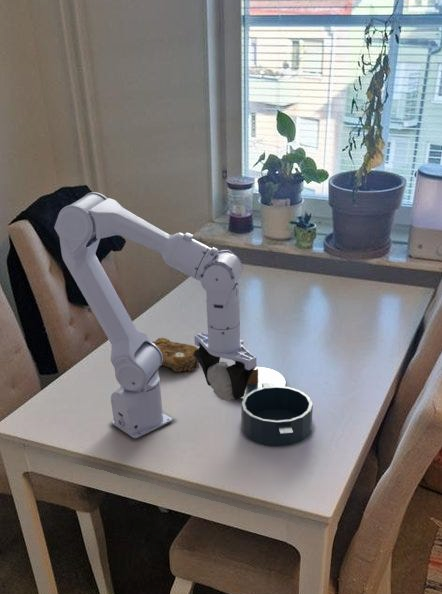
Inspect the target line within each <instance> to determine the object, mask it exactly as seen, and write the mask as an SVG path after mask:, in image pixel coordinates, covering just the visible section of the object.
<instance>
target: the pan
mask: <svg viewBox="0 0 442 594" xmlns="http://www.w3.org/2000/svg"><path fill="white" fill-rule="evenodd" d="M240 405H241V407H240V409H241V410H240V411H241V412H240V413H241V414H240V415H241V428H242V432H243V434H244V436H245V437H246V438H247V439H249V440H250V441H251V442H253V443H256V444H258V445H261V446H266V447H272V448H273V447H276V448H278V447H281V448H282V447H288V446H289V447H290V446H293V445H296V444H299V443H301V442H303V441H305V440H306V439H307V438H308V437H309V435H310V434H311V432H312V431H311V430H312V426H313V409H314V408H313V407H314V403H313V402H312V399H311V396H309V395H308V394H306V393H305V392H303V391H302V390H300V389H297V388H294V387H292V386H291V387H290V386H285V387H283V386H275V385H274V383H263V384H262V388H259V389H256V390H253V391H251V392H250V393H248V394H247V395H246V396H244V399H243V400H241V403H240Z"/></svg>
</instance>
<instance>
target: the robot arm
mask: <svg viewBox="0 0 442 594" xmlns="http://www.w3.org/2000/svg"><path fill="white" fill-rule="evenodd" d="M53 228H54V230H55V232H56V234H57V236H58V238H59V245H60V252H61V253H60V254H61V257H62V261H63V262H64V264H65V266H66V267H67V269H68V271H69V273H70V275H71V276H72V278H73V280H74V281H75V283H76V285H77V287H78V289H79V291H80V292H81V294H82V296H83V297H84V298H85V301H86V303H87V304H88V307H89V308H90V309H91V312H92V313H93V315H94V316H95V318H96V320H97V322H98V324H99V326H100V328H101V329H102V331H103V333H104V334H105V336H106V338H107V339H108V341H109V343H110V344H111V351H110V363H111V364H112V365H113V369H114V375H115V380H116V381H117V383H118V384H119V385H120V386H119V388H118V389H117V390H115V391H113V392H112V393H111V396H110V404H111V411H112V418H113V420H112V421H111V424H112V425H113V426H115V427H116V428H117V429H119V430H120V431H122V432H124V433H125V434H127V435H128V436H130V437H131V438H132V439H138V438H141V437H142V436H144V435H146V434H148V433H151V432H152V431H155V430H158V429H159V428H161V427H163V426H165V425H167V424H169V423H171V422H172V421H173V418H172V417H171V416H169V415H167V414H166V413H164V412H163V401H162V400H163V399H162V390H161V378H160V375H159V368H160V367H161V366H162V365H161V364H162V362H163V356H162V352H161V351H160V349H159V348H158V347H157V346H156V345H155V344H153V343H152V342H153V341H152V340H151V339H150V337H149V336H148V334H147V333H145V332H143V331H139V330H138V329H137V328H136V326H135V324H134V321H133V320H132V318H131V316H130V315H129V313H128V311H127V310H126V307H125V305H124V304H123V302H122V300H121V299H120V297H119V295H118V292H117V291H116V289H115V288H114V285H113V283H112V282H111V280H110V278H109V277H108V275H107V273H106V271H105V269H104V267H103V266H102V263H101V262H100V260H99V258H98V256H97V255H96V253H97V250H98V247H99V244H100V241H101V239H105V238H109V237H114V236H120V237H122V238H124V239H127V240H129V241H132V242H133V243H136V244H138V245H141V246H143V247H145V248H148V249H150V250H152V251H154V252H157V253H159V254H160V255H161V257H162V260H163V262H164V264H166V265H167V266H170V267H171V268H173V269H175V270H176V271H179V272H180V273H182V274H185V275H187V276H189V277H191V278H192V279H194V280H196V281H198V282H200V284H201V286H202V288H203V290H204V291H205V292H206V299H205V301H206V302H205V303H206V321H207V322H206V323H207V333H205V332H200V333H197V334H195V335H193V336H194V339H193V340H194V346H196V347H198V350H196V351H194V356H195V357H196V358H197V360H198V363H199V364H200V368H201V369H202V372H203V375H204V378H205V381H206V384H207V385H208V386H209V387H211V384H210V383H209V381H208V378H207V371H208V368H209V367H211V366H213V365H215V364H217V363H219V362H221V359H225V360H231V361H233V362H234V363H233V364H231V365H230V366H229V367H227V368H226V370H227V372H228V374H229V376H230V380H231V384H232V394H233V399H234V400H235V401H237V400H239V398H241V397H243V396H244V394H245V390H246V386H247V383H248V380H249V378H250V376H251V374H252V372H253V371H254V369H255V368H256V366H257V356H255V355H253V354H252V353H251V352H250V351H249V350H248V349H247V348H246V347H245V346H244V340H243V339H242V338H241V310H240V308H241V307H240V304H241V303H240V289H239V287H240V284H239V282H238V281H239V280H240V278H241V276H242V274H243V263H242V261H241V259H240V257H239V256H238V255H237V254H235V253H233V251H231V250H230V249H220V250H219V249H218V248H216V247H214V246H213V247H210V246H208V245H206V244H205V243H202V242H200V241H198V240H196V239H195V238H194V234H191V233H189V232H185V233H182V232H176V233H174V234H169V233H167V232H166V231H164V230H162V229H160V228H159V227H157V226H155V225H154V224H152V223H150V222H148V221H146V220H145V219H143V218H142V217H139V216H138V215H136V214H134V213H133V212H131V211H129V210H128V209H126V208H124V207H123V206H122V205H121V203H119V202H118V201H117V200H116V199H113V198H110V197H106V196H105V194H102V193H100V192H96V191H92V192H88V193H86V194H85V195H84V196H83V197H81V198H80V199H78V200H76V201H75V202H73V203H71V204H69V205H66V206H64V207H62V208H61V210H60V211H59V212H58V215H57V218H56V220H55V224H54V227H53Z"/></svg>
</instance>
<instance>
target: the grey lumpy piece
mask: <svg viewBox="0 0 442 594" xmlns="http://www.w3.org/2000/svg"><path fill="white" fill-rule="evenodd" d="M229 366H231V365H230V364H228V362H227V361H224V360H222V361H219V363H217V364H215V365H213V366H211V367H209V368H208V371H207V378H208V381H209V383H210V384H211V386H210V388H211V389H212V391H213V393H214V394H215V396H216V397H217V398H219V399H220V400H223V401H230V400H233V399H234V398H233V394H232V384H231V380H230V376H229V374H228V372H227V370H226V368H227V367H229Z"/></svg>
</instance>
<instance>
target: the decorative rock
mask: <svg viewBox="0 0 442 594" xmlns="http://www.w3.org/2000/svg"><path fill="white" fill-rule="evenodd" d="M151 342H152V343H153V344H155V345H156V346H157V347H158V348H159V349H160V351H161V352H162V356H163V362H162V364H161V366H165V367H168V368H170V370H173V371H174V372H175V373H178V372H180V373H182V371H183V372H185V371H189V372H193V371H195V368H198V366H199V364H198V363H199V362H198V360H197V358H196V357H195V356H194V351H196V350H198V349H199V347H198V346H196V345H192V344H187V343H180V342H176V341H175V342H174V341H170V339H168V338H165V337H158V338H157V339H156V340H155V341H151Z"/></svg>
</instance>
